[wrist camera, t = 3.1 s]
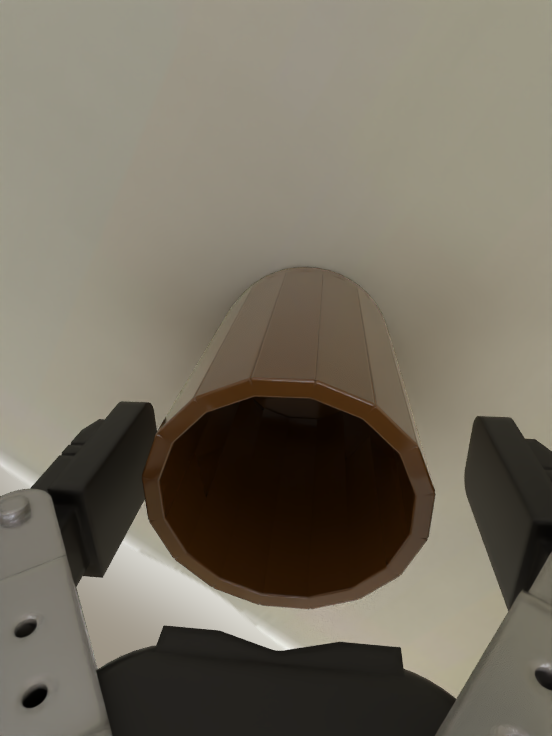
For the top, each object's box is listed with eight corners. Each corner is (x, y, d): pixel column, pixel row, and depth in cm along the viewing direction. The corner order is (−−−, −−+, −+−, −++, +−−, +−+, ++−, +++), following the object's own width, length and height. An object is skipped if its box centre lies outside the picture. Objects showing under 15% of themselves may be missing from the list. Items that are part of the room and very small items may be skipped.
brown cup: (228, 415, 19) (160, 598, 12) (218, 265, 17) (123, 373, 9) (381, 422, 19) (416, 619, 11) (396, 267, 16) (453, 385, 8)
